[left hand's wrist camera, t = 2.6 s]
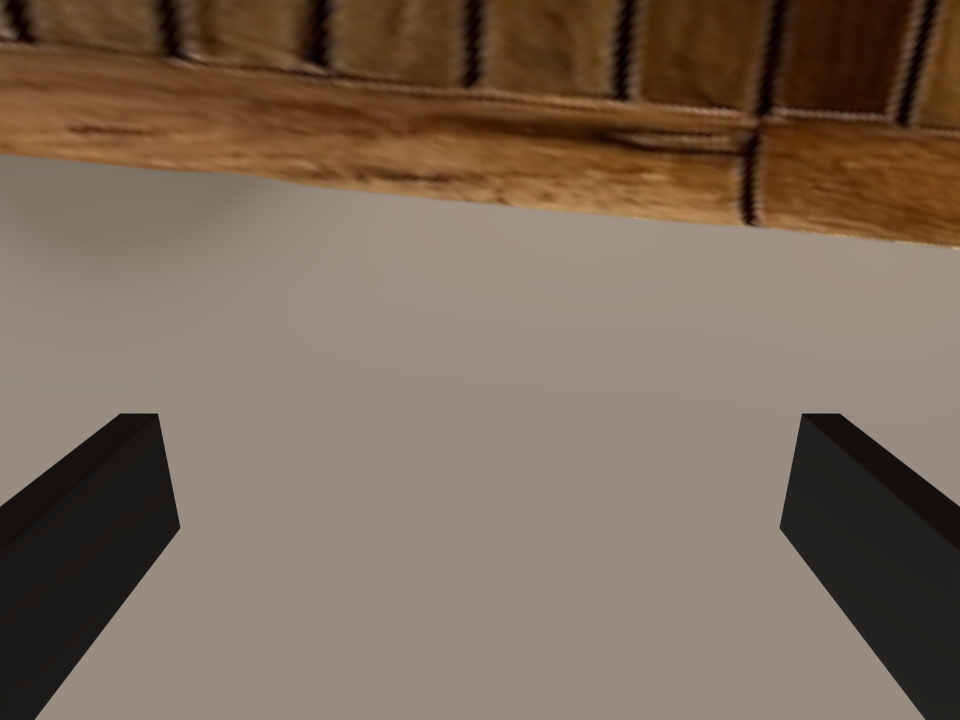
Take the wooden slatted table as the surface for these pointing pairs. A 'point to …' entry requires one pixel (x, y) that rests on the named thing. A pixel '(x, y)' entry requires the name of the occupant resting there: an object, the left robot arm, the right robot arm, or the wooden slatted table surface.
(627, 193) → the wooden slatted table surface
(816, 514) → the left robot arm
